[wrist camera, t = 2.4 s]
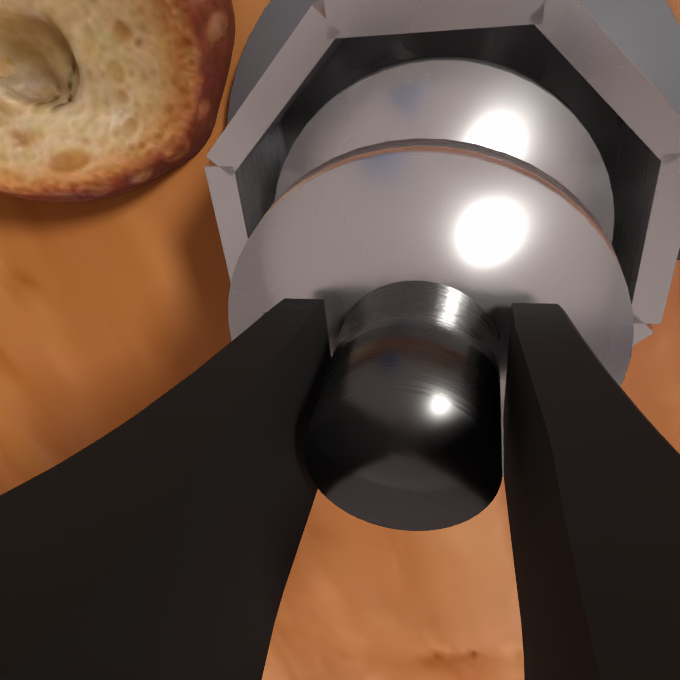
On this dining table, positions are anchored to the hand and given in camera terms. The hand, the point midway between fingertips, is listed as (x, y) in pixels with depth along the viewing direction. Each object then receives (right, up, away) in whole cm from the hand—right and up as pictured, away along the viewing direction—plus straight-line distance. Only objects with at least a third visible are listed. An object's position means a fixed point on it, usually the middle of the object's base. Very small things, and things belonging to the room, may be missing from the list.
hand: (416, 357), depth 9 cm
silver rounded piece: (+1, +3, +3) cm, 4 cm away
